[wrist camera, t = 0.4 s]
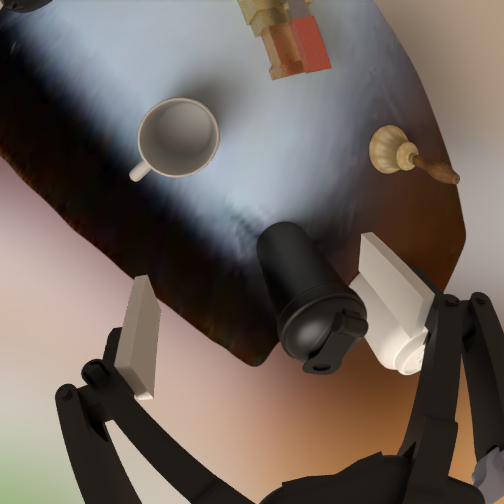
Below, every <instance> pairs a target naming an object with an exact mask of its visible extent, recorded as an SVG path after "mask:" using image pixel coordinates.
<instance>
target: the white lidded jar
mask: <svg viewBox="0 0 504 504" xmlns="http://www.w3.org/2000/svg"><path fill="white" fill-rule="evenodd" d="M349 287H350V288H352V289H353V290H354V291H355V292H356V293H357V294H358V295H359V296H360V298H361V299H362V301H363V302H364V304H365V307H366V310H367V322H368V325H369V328H368V332H367V334H366V335H365V336H364V337H365V338H366V340H367V342H368V343H369V345H370V347H371V348H372V350H373V352H374V353H375V355H376V357H377V358H378V360H379V361H380V363H381V364H382V365H384V366H385V367H386V368H389V369H397V370H398V371H399V372H400V373H402V374H404V375H410V374H413V373H416V372H418V371H419V370H421V367H422V361H423V355H424V349H425V345H423V343H424V340H425V338H426V335H427V333H428V330H427V328H426V327H425V326H424V329H423V332H422V334H421V335H418V336H416V337H414V338H411V339H410V337H409V336H408V335H407V333H406V332H405V330H404V329H403V328H402V326H401V325H400V324H399V322H398V321H397V319H396V318H395V317H394V315H393V314H392V313H391V311H390V310H389V309H388V307H387V306H386V305H385V304H384V302H383V301H382V300H381V298H380V297H379V296H378V294H377V293H376V292H375V291H374V289H373V288H372V287H371V285H370V284H369V283H368V282H367V280H366V279H365V278H364V277H363V275H362V274H361V273H359V274H358V275H357V276H356V277H355V278H354V279H353V281H352V282H351V283H350V285H349Z"/></svg>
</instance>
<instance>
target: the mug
mask: <svg viewBox="0 0 504 504" xmlns="http://www.w3.org/2000/svg"><path fill="white" fill-rule="evenodd" d="M219 138H220V134H219V127H218V123H217V120H216V118H215V116H214V115H213V113H212V112H211V111H210V109H209V108H208V107H207V106H206V105H204V104H203V103H201V102H199V101H197V100H194V99H190V98H184V97H176V98H170V99H167V100H164V101H162V102H160V103H158V104H157V105H155V106H154V107H153V108H151V109H150V110H149V111H148V112H147V114H146V115H145V116H144V118H143V120H142V122H141V124H140V126H139V130H138V136H137V142H138V148H139V152H140V154H141V156H142V158H143V160H141V161H140V162H139V163H138V164H137V165H136V166H135V167H134V168H133V170H132V171H131V172H130V174H129V175H130V178H131V179H132V180H133V181H135V182H136V181H139V180H140V179H141V178H142V177H143V176H145V175H146V174H147V173H148V172H149V171H150V170H151V169H153V170H154V171H156V172H157V173H159V174H162V175H164V176H168V177H186V176H189V175H192V174H195V173H197V172H198V171H200V170H202V169H203V168H204V167H205V166H206V165H208V163H209V162H210V161H211V160H212V158H213V157H214V155H215V153H216V151H217V148H218V145H219Z"/></svg>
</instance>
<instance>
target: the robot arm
mask: <svg viewBox="0 0 504 504" xmlns="http://www.w3.org/2000/svg"><path fill="white" fill-rule="evenodd" d="M0 1H1V3H2V4H3V5H4V7H6V8H7V9H9V10H11V11H14V12H18V13H26V12H31V11H34V10H36V9H39V8H41V7H43V6H44V5H46V4H48V3H49V2H51V1H52V0H0ZM359 272H360V273H361V274H362V275H363V277H364V278H365V279H366V280H367V282H368V283H369V284H370V285H371V287H372V288H373V289H374V291H375V292H376V293H377V294H378V296H379V297H380V298H381V300H382V301H383V302H384V304H385V305H386V306H387V307H388V309H389V310H390V311H391V313H392V314H393V315H394V317H395V318H396V319H397V321H398V322H399V324H400V325H401V326H402V328H403V329H404V330H405V332H406V333H407V335H408V336H409V337H410V339H411V338H414V337H416V336H418V335H421V334H422V332H423V329H424V326H425V327H426V328H427V330H428V333H427V335H426V338H425V340H424V343H423V345H425V349H424V355H423V361H422V367H421V373H420V377H419V383H418V387H417V392H416V396H415V400H414V405H413V408H412V413H411V416H410V420H409V424H408V427H407V431H406V434H405V437H404V440H403V443H402V445H401V447H400V449H399V451H398V453H397V455H384V456H383V455H382V452H378V453H376V454H373V455H371V456H368V457H366V458H363V459H360V460H358V461H357V462H355V463H353V464H352V465H350V466H349V467H347V468H345V469H344V470H342V471H341V472H339V473H337V474H334V475H325V476H307V477H303V478H299V479H295V480H291V481H287V482H282V487H280V488H278V489H276V490H274V491H273V492H271V493H270V494H269V495H267V496H266V497H265V498H264V499H263V500H262V501H261V502H260V503H259V504H493V503H494V502H495V501H497V500H499V499H500V498H501V497H503V496H504V333H503V330H502V327H501V325H500V322H499V320H498V317H497V315H496V312H495V310H494V308H493V305H492V303H491V300H490V299H489V297H488V296H487V295H485V294H484V293H481V292H474V293H473V294H472V296H471V298H470V300H462V301H460V300H459V299H458V298H457V297H455V296H454V295H451V294H444V293H443V292H442V291H441V290H440V289H439V288H438V287H437V286H436V285H435V284H434V283H433V282H432V281H430V279H429V278H428V277H427V276H426V275H425V274H424V273H423V272H422V271H421V270H419V269H417V268H416V267H414V266H411V267H408V266H407V265H406V264H405V263H404V262H403V261H402V260H401V259H400V258H399V257H398V256H397V255H396V254H395V253H394V252H393V251H392V250H391V249H390V248H389V247H387V246H386V245H385V244H384V243H383V242H382V241H381V240H380V239H379V238H378V237H377V236H376V235H375V234H374V233H372V232H369V233H364V234H361V248H360V260H359ZM160 313H161V309H160V307H159V304H158V302H157V300H156V297H155V294H154V292H153V289H152V286H151V284H150V281H149V278H148V276H147V275H144V276H138V277H135V280H134V284H133V287H132V291H131V295H130V299H129V303H128V306H127V310H126V314H125V318H124V323H123V327H119V328H113V330H112V331H111V332H110V334H109V336H108V339H107V345H106V347H105V351H104V355H103V359H102V360H101V359H94V360H91V361H89V362H88V363H86V364H85V365H84V367H83V369H82V372H81V375H82V378H83V380H84V381H85V382H86V383H87V384H88V385H86V386H83V387H81V388H76V387H75V386H74V385H72V384H64V385H62V386H61V387H60V388H59V389H58V390H57V392H56V395H55V400H56V407H57V412H58V416H59V421H60V425H61V430H62V434H63V438H64V441H65V445H66V449H67V452H68V456H69V459H70V462H71V466H72V469H73V471H74V474H75V478H76V480H77V483H78V486H79V489H80V491H81V494H82V497H83V499H84V501H85V504H142V502H141V501H140V499H139V497H138V495H137V493H136V492H135V490H134V488H133V486H132V484H131V482H130V480H129V478H128V476H127V474H126V472H125V470H124V467H123V465H122V463H121V461H120V459H119V456H118V454H117V452H116V450H115V447H114V445H113V442H112V440H111V438H110V435H109V433H108V430H107V427H106V425H105V422H107V421H110V420H114V421H115V422H116V424H117V425H118V426H119V428H120V429H121V430H122V431H123V433H124V434H125V435H126V436H127V437H128V439H129V440H130V441H131V442H132V443H133V445H134V446H135V447H136V448H137V449H138V450H139V451H140V453H141V454H142V455H143V456H144V457H145V458H146V459H147V460H148V461H149V463H150V464H151V465H152V466H153V467H154V468H155V469H156V470H157V471H158V472H159V473H160V474H161V475H162V476H163V477H164V478H165V479H166V480H167V481H168V482H169V483H170V484H171V485H172V486H173V487H174V488H175V489H176V490H177V491H179V492H180V494H182V495H183V496H184V497H185V498H186V499H187V500H188V501H189V502H190V503H191V504H255V503H254V502H252V501H251V500H249V499H248V498H246V497H245V496H243V495H242V494H241V493H239V492H238V491H236V490H235V489H234V488H232V487H231V486H230V485H228V484H227V483H226V482H224V481H223V480H221V479H220V478H218V477H217V476H216V475H214V474H213V473H212V472H210V471H209V470H208V469H207V468H206V467H204V466H203V465H202V464H201V463H200V462H198V461H197V460H196V459H195V458H194V457H193V456H192V455H190V454H189V453H188V452H187V451H186V450H185V449H184V448H182V447H181V446H180V445H179V444H178V443H177V442H176V441H175V440H174V439H173V438H172V437H171V436H170V435H169V434H168V433H167V432H166V431H165V430H163V428H161V426H160V425H159V424H158V423H157V422H156V421H155V420H154V419H153V418H152V417H151V416H150V415H149V414H148V413H147V412H146V411H145V410H144V409H143V408H142V407H141V406H140V404H139V403H138V402H137V401H136V400H135V399H134V394H135V395H136V396H137V398H138V399H139V400H143V399H144V400H145V399H153V398H154V381H155V366H156V354H157V342H158V332H159V322H160ZM461 354H462V359H463V364H464V369H465V374H466V380H467V385H468V392H469V399H470V406H471V415H472V424H473V436H474V448H475V455H476V460H477V464H476V466H475V470H474V472H473V474H472V480H473V481H474V484H473V485H471V484H468V483H465V482H463V481H460V480H458V479H455V478H452V477H450V476H448V473H449V469H450V465H451V461H452V457H453V452H454V448H455V443H456V437H457V432H458V423H457V422H455V412H456V406H457V398H458V389H459V379H460V365H461Z"/></svg>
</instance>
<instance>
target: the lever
mask: <svg viewBox="0 0 504 504" xmlns="http://www.w3.org/2000/svg"><path fill="white" fill-rule="evenodd" d="M281 1H282V4H283V6H284V9H285V11H286V13H287V16H288V19H289V21H290V22H288V25H289V27H290V30H291V32H292V35H293V38H294V40H295V43H296V46H297V49H298V52H299V55H300V57H301V60H302V63H303V66H304V69H305V72H306V73H311V72H315V71H320V70H325V69H330V68H331V64H330V61H329V58H328V55H327V52H326V49H325V46H324V43H323V40H322V37H321V35H320V32H319V29H318V26H317V24H316V21H315V19H314V16H311V14H310V12H309V9H308V7H307V4H306V2H305V0H281Z"/></svg>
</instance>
